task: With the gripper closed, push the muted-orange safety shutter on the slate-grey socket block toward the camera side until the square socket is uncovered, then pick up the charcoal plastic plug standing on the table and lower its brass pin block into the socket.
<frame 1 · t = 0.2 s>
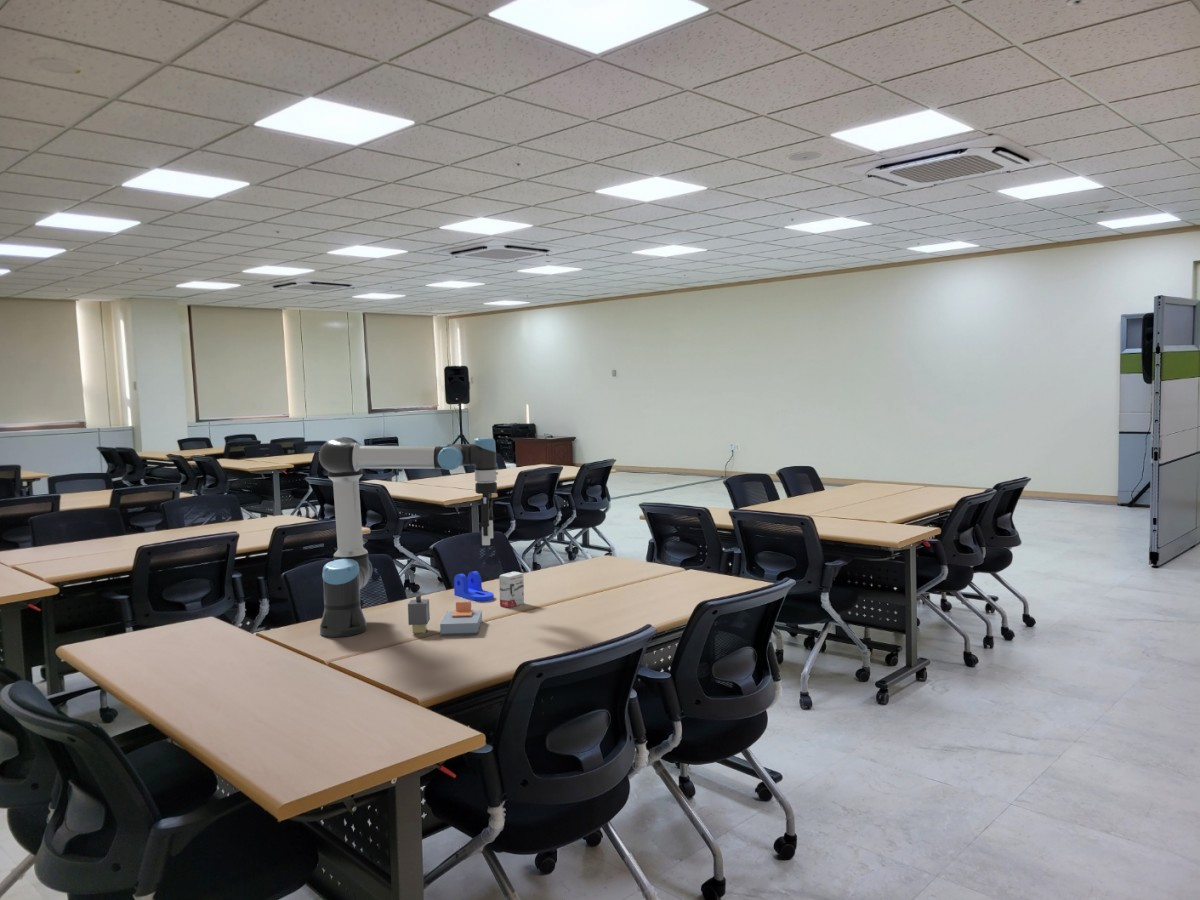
hand: (487, 541, 293), 27 cm above the table, fingers open, 13 cm apart
socket: (462, 628, 280), on the table
ink box: (512, 605, 310), on the table
plug: (419, 631, 278), on the table
shutter: (462, 608, 282), point 6 cm above the table, slide at 0.0 cm
bracket: (475, 598, 323), on the table
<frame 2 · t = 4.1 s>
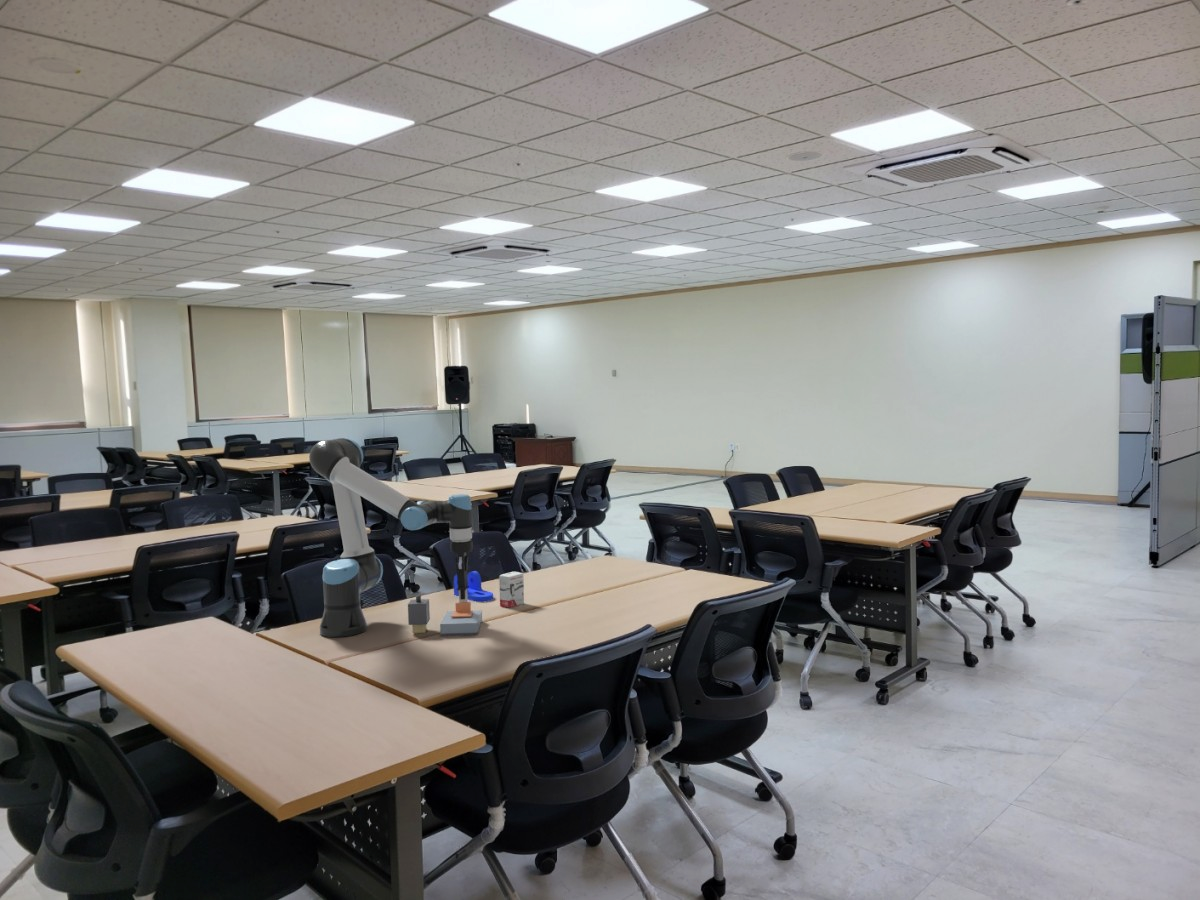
hand: (463, 607, 285), 6 cm above the table, fingers closed
shutter: (462, 609, 281), point 6 cm above the table, slide at 1.0 cm, touching gripper
everything else where it was.
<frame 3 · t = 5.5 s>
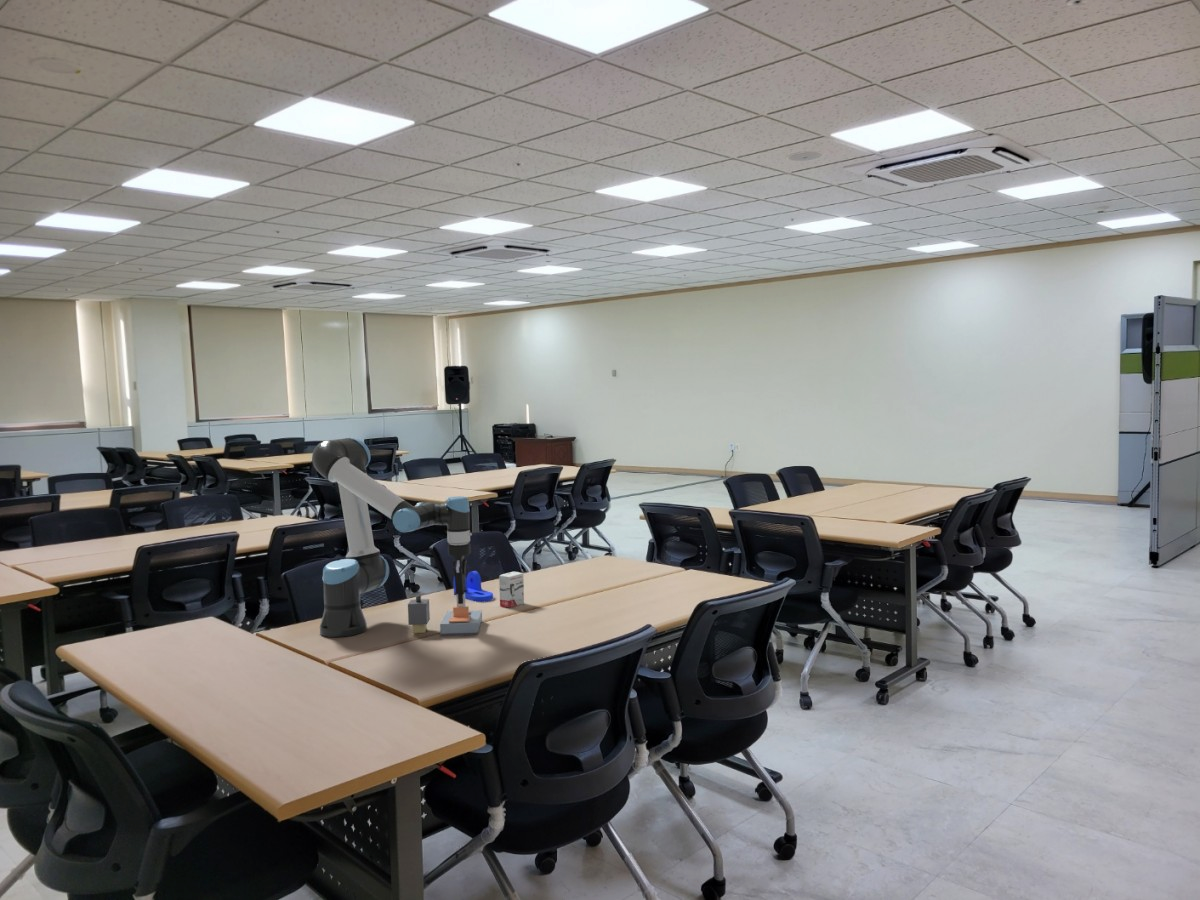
hand: (461, 612, 279), 6 cm above the table, fingers closed
shutter: (459, 614, 275), point 6 cm above the table, slide at 6.9 cm, touching gripper
everything else where it was.
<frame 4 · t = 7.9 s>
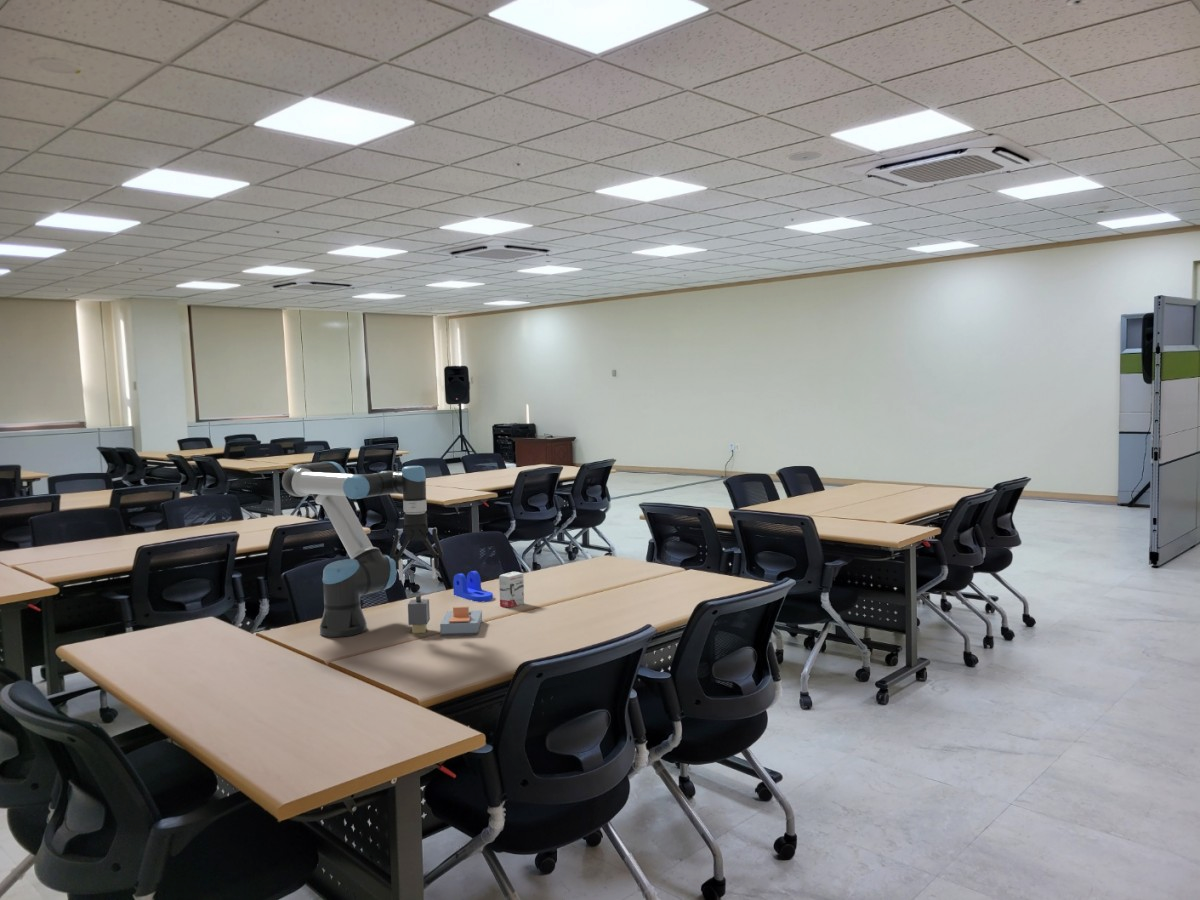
hand: (417, 578, 277), 18 cm above the table, fingers open, 10 cm apart
shutter: (459, 614, 275), point 6 cm above the table, slide at 7.0 cm
everything else where it was.
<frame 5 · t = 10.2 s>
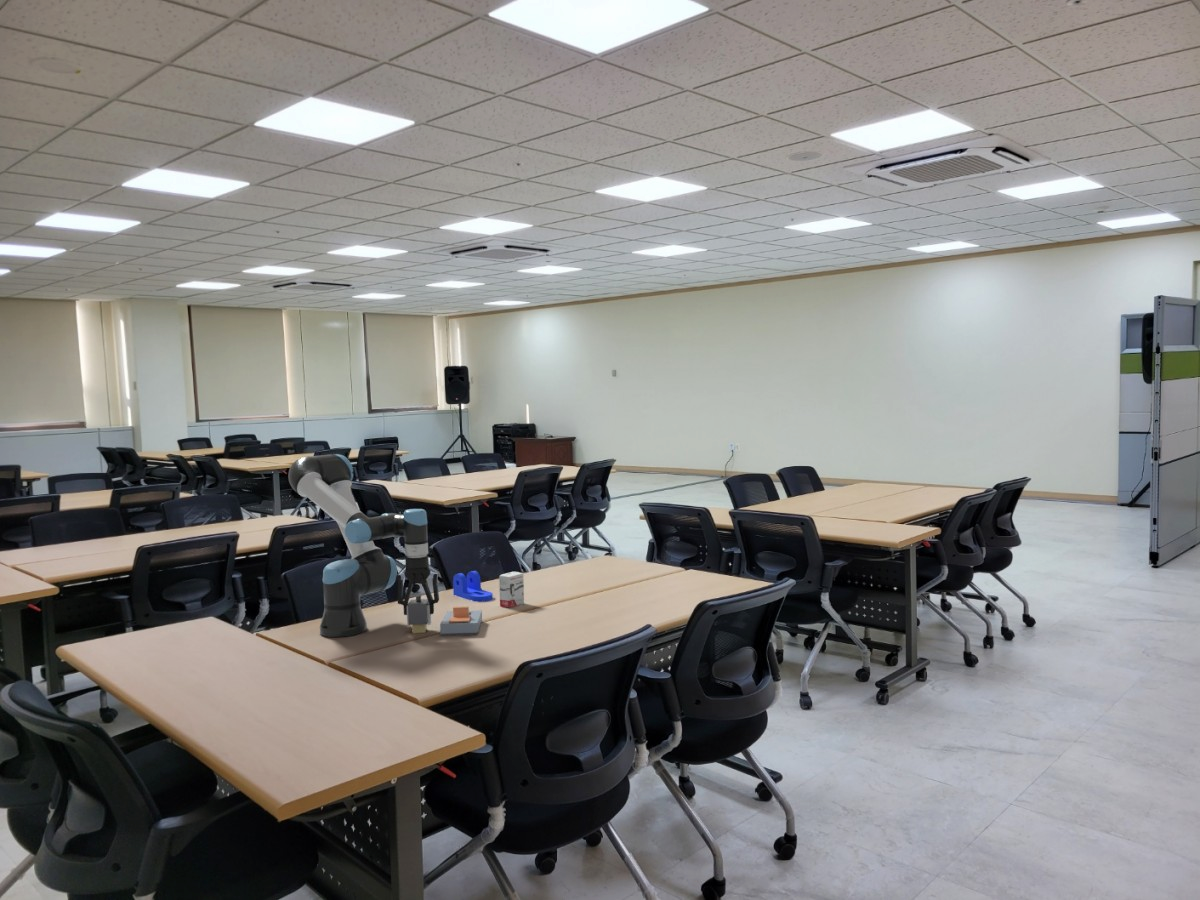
hand: (419, 623, 278), 2 cm above the table, fingers closed on plug, 6 cm apart
plug: (419, 631, 278), on the table, touching gripper
everything else where it was.
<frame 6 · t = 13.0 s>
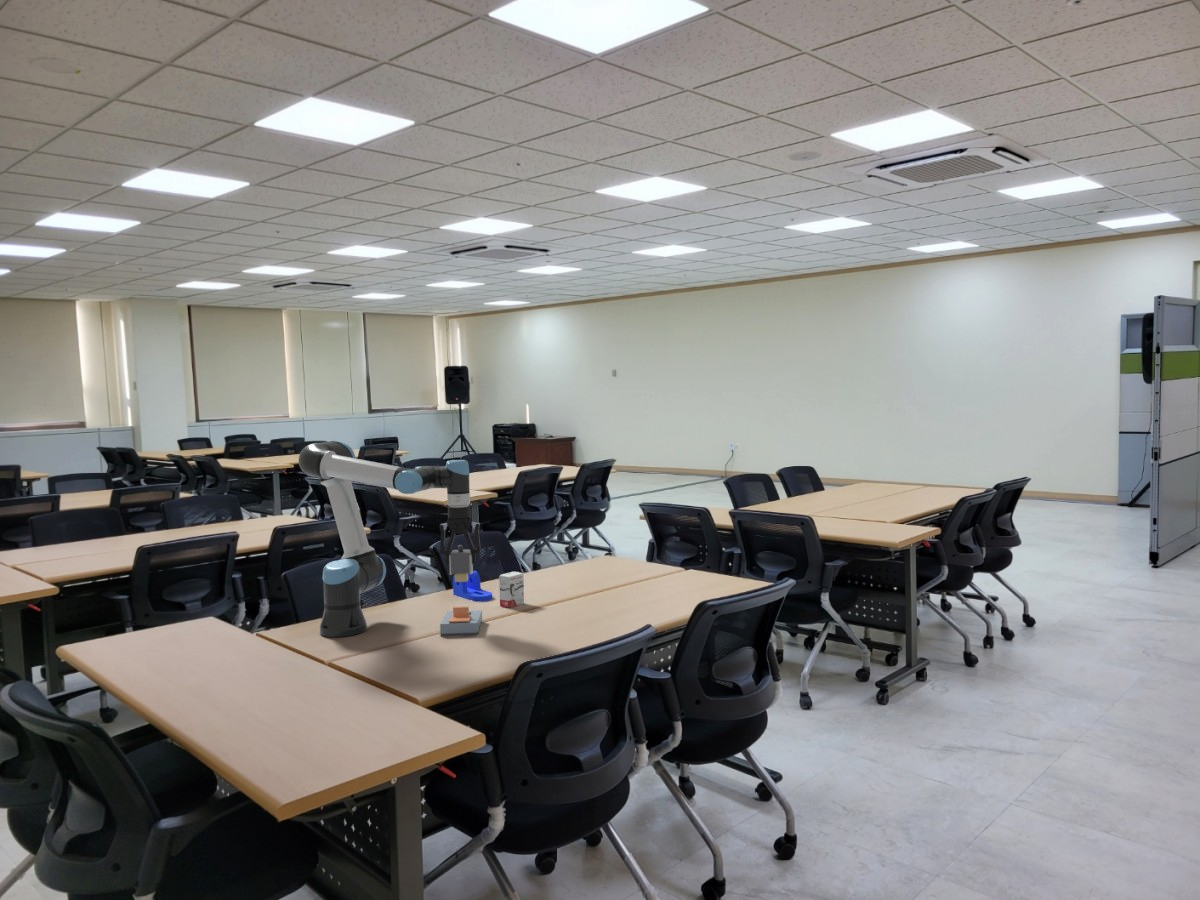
hand: (461, 573, 281), 18 cm above the table, fingers closed on plug, 6 cm apart
plug: (461, 580, 281), point 16 cm above the table, touching gripper
when the fingers open (5 cm above the table, at t = 15.7 s): plug drops 1 cm, resting on socket.
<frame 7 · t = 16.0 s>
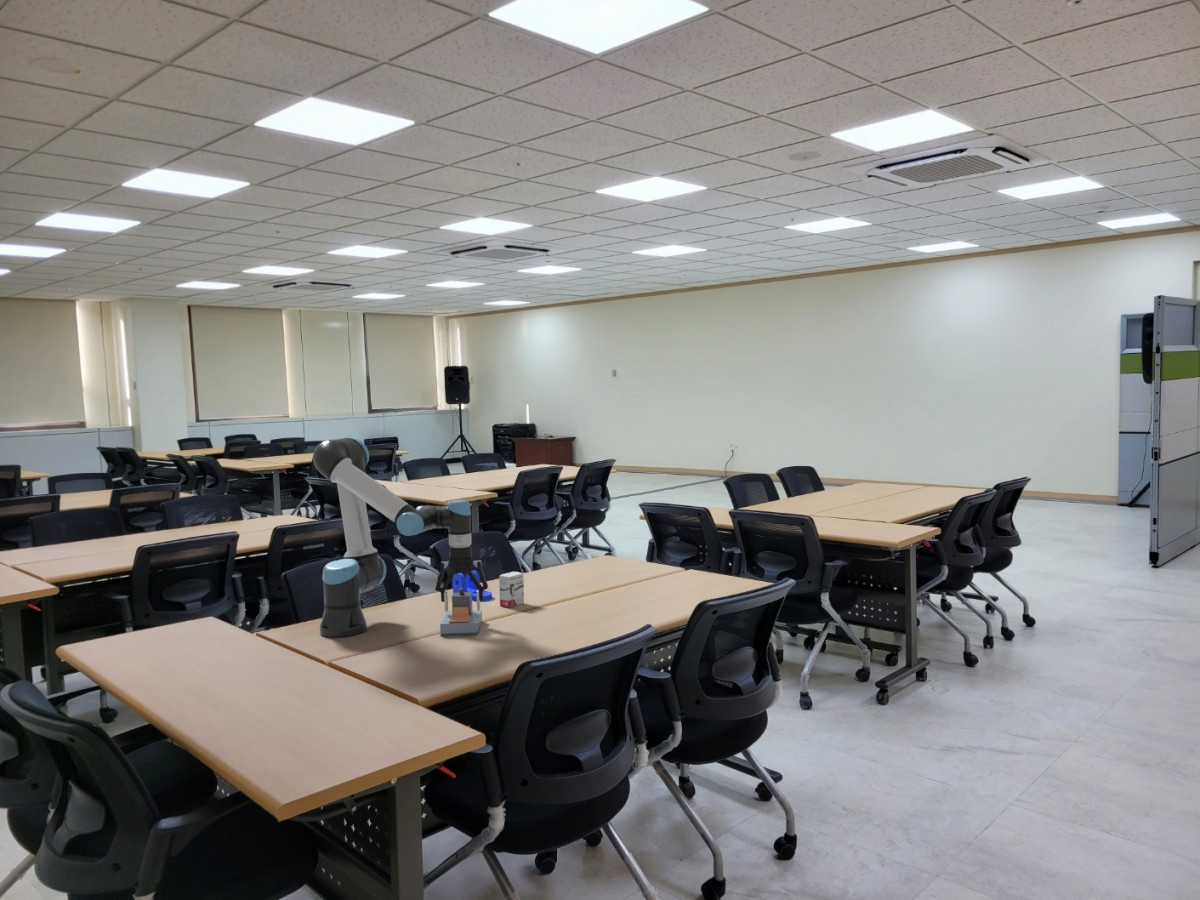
hand: (462, 610, 282), 5 cm above the table, fingers open, 10 cm apart
plug: (462, 623, 282), point 1 cm above the table, touching socket
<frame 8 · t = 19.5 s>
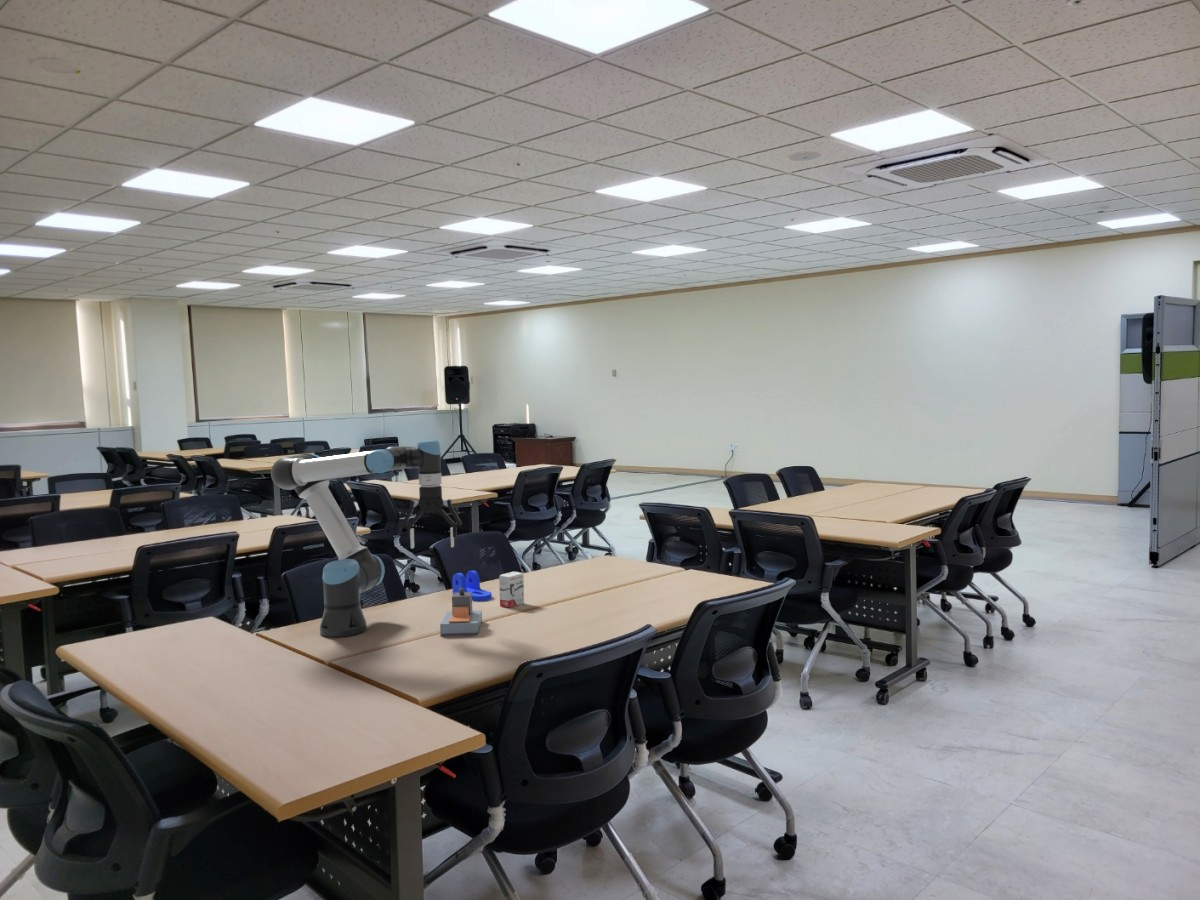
hand: (432, 547, 284), 27 cm above the table, fingers open, 13 cm apart
at the end: shutter slide at 7.0 cm; plug 0.1 cm from the target spot on the socket, point 1.0 cm above the socket's base; plug tilted 0° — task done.
